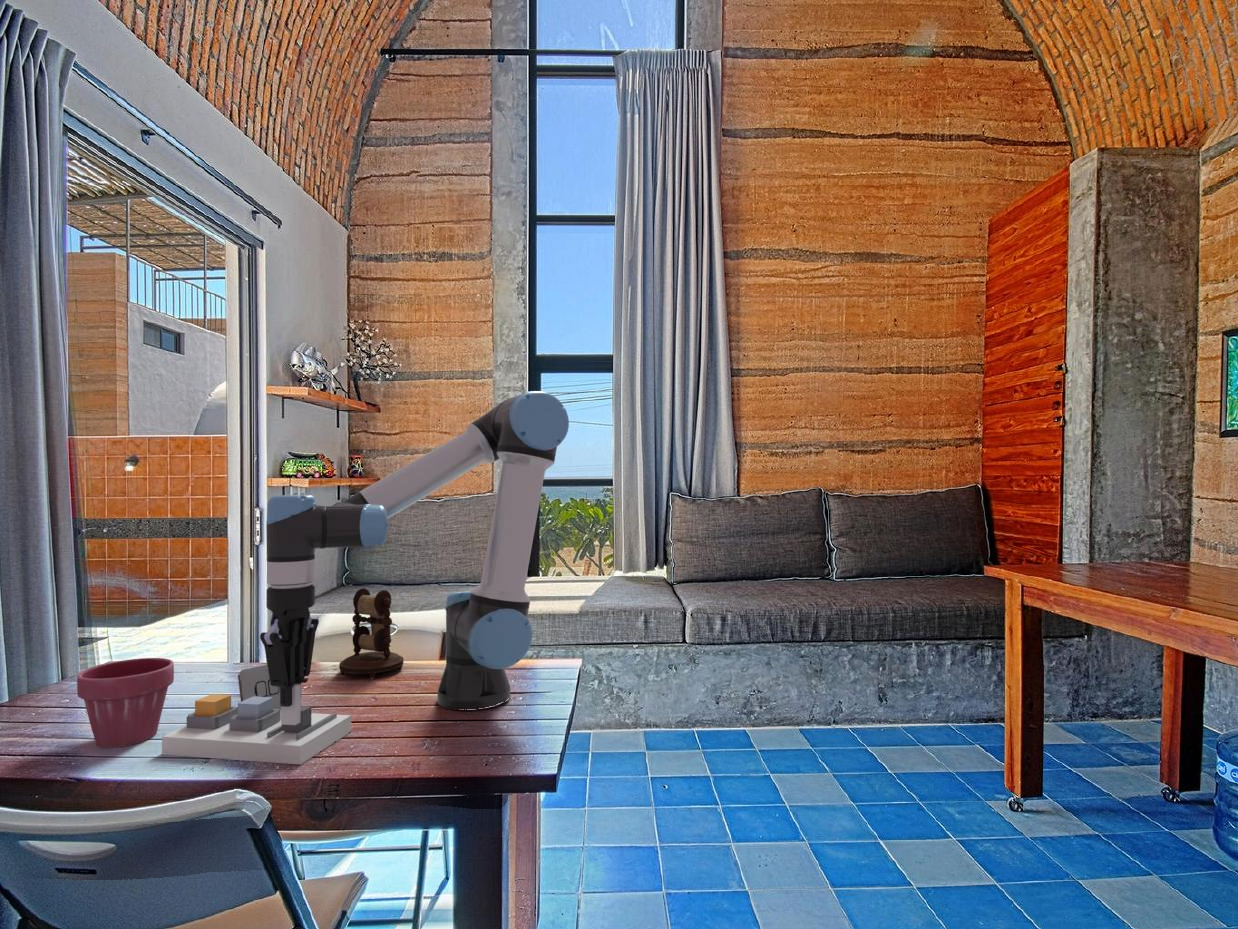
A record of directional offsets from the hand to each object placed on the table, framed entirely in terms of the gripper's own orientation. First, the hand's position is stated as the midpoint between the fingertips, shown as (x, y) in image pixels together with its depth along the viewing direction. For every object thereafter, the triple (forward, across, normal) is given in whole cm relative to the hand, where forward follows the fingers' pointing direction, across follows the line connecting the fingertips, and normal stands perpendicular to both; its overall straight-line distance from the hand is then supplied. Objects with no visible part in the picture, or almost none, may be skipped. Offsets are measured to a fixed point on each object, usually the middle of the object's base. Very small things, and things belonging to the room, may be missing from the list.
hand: (290, 723), depth 119 cm
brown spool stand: (+5, -49, -12) cm, 51 cm away
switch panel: (+5, -3, -8) cm, 10 cm away
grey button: (0, -3, -9) cm, 10 cm away
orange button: (0, -3, -18) cm, 18 cm away
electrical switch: (+5, -19, -20) cm, 28 cm away
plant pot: (+5, -2, -34) cm, 34 cm away
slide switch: (+2, -2, 0) cm, 3 cm away
